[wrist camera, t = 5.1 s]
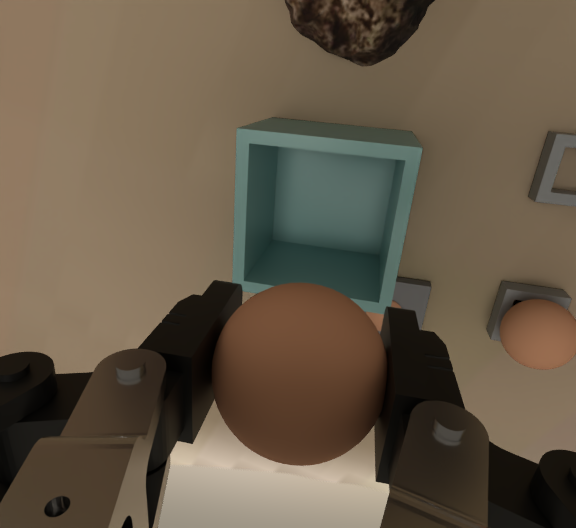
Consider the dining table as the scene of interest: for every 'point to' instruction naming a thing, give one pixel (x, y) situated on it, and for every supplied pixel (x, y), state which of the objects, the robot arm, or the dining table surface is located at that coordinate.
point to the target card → (407, 299)
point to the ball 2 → (539, 334)
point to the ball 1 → (299, 374)
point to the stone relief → (358, 25)
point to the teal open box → (323, 207)
